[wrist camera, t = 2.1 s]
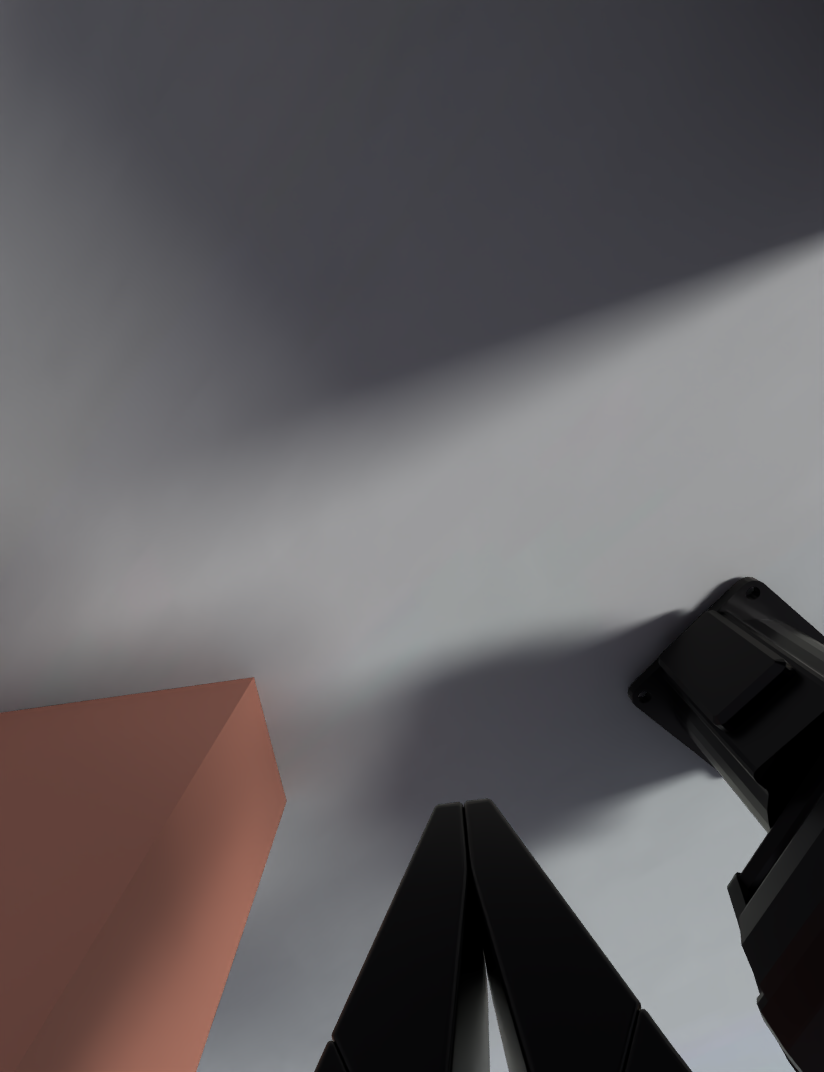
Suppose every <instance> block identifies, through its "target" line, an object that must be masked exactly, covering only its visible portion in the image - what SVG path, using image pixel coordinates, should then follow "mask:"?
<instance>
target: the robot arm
mask: <svg viewBox="0 0 824 1072" xmlns="http://www.w3.org/2000/svg"><path fill="white" fill-rule="evenodd" d="M751 587H753V592H752V593H751V594H750V595H748V596H746V592H747V590H748V589H749V588H751ZM643 691H647V693H646V695H645V696H643V697H638V696H639V694H640V693H641V692H643ZM628 696H629V698H630V699H631V701H632V702H633V703H634V705H635V706H636V707H638V708H639V709H640V710H641V711H643V712H644V713H645V714H646V715H648V716H649V717H650V718H652V719H653V720H654V721H655V722H657V723H658V724H659V725H661V726H662V727H663V728H664V729H666V730H667V731H668V732H669V733H671V734H672V735H673V736H675V737H676V738H677V739H678V740H680V741H681V742H682V743H683V744H685V745H686V746H687V747H689V748H690V749H691V750H692V751H694V752H695V753H696V754H697V755H699V756H700V757H701V758H703V759H704V760H705V761H706V762H708V763H709V764H710V765H711V766H713V767H714V768H715V769H716V770H717V771H718V772H719V773H720V775H721V776H722V777H723V778H724V780H725V781H726V782H727V783H728V785H729V786H730V787H731V788H732V790H733V791H734V792H735V793H736V794H737V796H738V797H739V798H740V799H741V801H742V802H743V803H744V804H745V806H746V807H747V808H748V809H749V811H750V812H751V813H752V814H753V815H754V817H755V818H756V819H757V820H758V822H759V823H760V824H761V825H762V827H763V828H764V829H765V830H766V832H767V833H768V834H767V835H766V837H765V838H764V840H763V841H762V843H761V844H760V846H759V847H758V849H757V850H756V852H755V853H754V855H753V856H752V858H751V859H750V861H749V862H748V864H747V865H746V867H745V868H744V870H743V871H742V873H738V872H737V873H736V874H735V875H734V877H733V878H732V880H731V881H730V883H729V884H728V886H727V889H728V892H729V895H730V899H731V902H732V905H733V908H734V912H735V915H736V918H737V921H738V925H739V928H740V933H741V944H742V947H743V950H744V952H745V954H746V957H747V959H748V961H749V964H750V966H751V968H752V971H753V973H754V977H755V980H756V983H757V986H758V990H759V993H760V995H759V996H758V997H757V1005H758V1008H759V1010H760V1013H761V1015H762V1018H763V1020H764V1022H765V1023H766V1025H767V1026H768V1028H769V1029H770V1031H771V1032H772V1034H773V1035H774V1037H775V1038H776V1040H777V1042H778V1043H779V1045H780V1047H781V1049H782V1050H783V1052H784V1054H785V1056H786V1058H787V1059H788V1061H789V1063H790V1064H791V1065H792V1067H793V1068H794V1070H795V1071H796V1072H824V636H823V635H822V634H821V633H820V632H819V631H817V630H816V629H815V628H814V627H813V626H812V625H811V624H809V623H808V622H807V621H806V620H805V619H804V618H803V617H801V616H800V615H799V614H798V613H797V612H796V611H795V610H793V609H792V608H791V607H790V606H789V605H788V604H787V603H786V602H784V601H783V600H782V599H781V598H780V597H779V596H778V595H776V594H775V593H774V592H773V591H772V590H771V589H770V588H768V587H767V586H766V585H765V584H764V583H762V582H760V581H758V580H757V579H755V578H753V577H745V578H742V579H740V580H739V581H737V582H736V583H735V584H734V585H733V586H732V587H731V588H730V589H729V590H728V591H727V592H726V593H725V594H724V595H723V596H722V597H721V598H720V599H719V600H718V601H717V602H716V603H715V604H714V605H713V606H712V607H711V608H709V609H708V610H707V611H706V612H704V613H703V614H702V615H701V616H700V617H699V618H698V619H697V620H696V621H695V622H694V623H693V624H692V625H691V626H690V627H689V628H688V629H687V630H686V631H684V632H683V633H682V634H681V635H680V636H679V637H678V638H677V639H676V640H675V641H674V642H673V643H672V644H671V645H670V646H669V647H668V648H667V649H666V650H665V651H664V652H663V653H662V654H661V655H660V656H659V658H658V659H657V660H656V661H655V662H654V663H653V664H652V665H651V666H650V667H649V668H648V669H647V670H646V671H645V672H644V673H643V674H642V675H641V676H640V677H638V678H637V679H636V680H635V681H634V682H633V683H632V684H631V686H630V687H629V689H628ZM484 956H485V957H484ZM485 962H486V966H485ZM486 968H487V974H488V980H489V985H490V990H491V995H492V1000H493V1004H494V1009H495V1013H496V1017H497V1022H498V1026H499V1030H500V1035H501V1039H502V1043H503V1048H504V1052H505V1056H506V1060H507V1065H508V1069H509V1072H692V1071H691V1069H690V1068H689V1067H688V1066H687V1064H686V1063H685V1062H684V1060H683V1059H682V1058H681V1056H680V1055H679V1054H678V1053H677V1051H676V1050H675V1049H674V1047H673V1046H672V1045H671V1043H670V1042H669V1041H668V1039H667V1038H666V1037H665V1035H664V1034H663V1033H662V1031H661V1030H660V1028H659V1027H658V1026H657V1024H656V1023H655V1022H654V1020H653V1019H652V1018H651V1016H650V1015H649V1013H648V1012H647V1011H646V1010H645V1009H641V1004H640V1002H639V1000H638V999H637V998H636V996H635V995H634V994H633V992H632V991H631V989H630V988H629V987H628V985H627V984H626V983H625V981H624V980H623V979H622V977H621V976H620V974H619V973H618V972H617V970H616V969H615V968H614V966H613V965H612V964H611V962H610V961H609V959H608V958H607V957H606V955H605V954H604V953H603V951H602V950H601V949H600V947H599V946H598V944H597V943H596V942H595V940H594V939H593V938H592V936H591V935H590V934H589V932H588V931H587V929H586V928H585V927H584V925H583V924H582V923H581V921H580V920H579V919H578V917H577V916H576V914H575V913H574V912H573V910H572V909H571V908H570V906H569V905H568V904H567V902H566V901H565V899H564V898H563V897H562V895H561V894H560V893H559V891H558V890H557V889H556V887H555V886H554V884H553V883H552V882H551V880H550V879H549V878H548V876H547V875H546V874H545V872H544V871H543V869H542V868H541V867H540V865H539V864H538V863H537V861H536V860H535V859H534V857H533V856H532V854H531V853H530V852H529V850H528V849H527V848H526V846H525V845H524V844H523V842H522V841H521V839H520V838H519V837H518V835H517V834H516V833H515V831H514V830H513V829H512V827H511V826H510V824H509V823H508V822H507V820H506V819H505V818H504V816H503V815H502V814H501V812H500V811H499V809H498V808H497V807H496V805H495V804H494V803H493V802H492V801H491V800H490V799H487V798H486V799H478V800H470V801H466V802H465V804H464V807H463V805H462V803H460V802H454V803H446V804H439V805H437V806H436V807H435V808H434V810H433V812H432V814H431V817H430V819H429V821H428V823H427V825H426V828H425V830H424V832H423V834H422V836H421V839H420V841H419V843H418V845H417V847H416V850H415V852H414V854H413V856H412V858H411V861H410V863H409V865H408V867H407V869H406V872H405V874H404V876H403V878H402V880H401V883H400V885H399V887H398V889H397V891H396V894H395V896H394V898H393V900H392V902H391V905H390V907H389V909H388V911H387V913H386V916H385V918H384V920H383V922H382V925H381V927H380V929H379V931H378V933H377V936H376V938H375V940H374V942H373V944H372V947H371V949H370V951H369V953H368V955H367V958H366V960H365V962H364V964H363V966H362V969H361V971H360V973H359V975H358V977H357V980H356V982H355V984H354V986H353V988H352V991H351V993H350V995H349V997H348V999H347V1002H346V1004H345V1006H344V1008H343V1010H342V1013H341V1015H340V1017H339V1019H338V1021H337V1024H336V1026H335V1028H334V1030H333V1032H332V1040H333V1041H329V1042H328V1043H327V1045H326V1047H325V1049H324V1051H323V1054H322V1056H321V1058H320V1060H319V1062H318V1065H317V1067H316V1069H315V1071H314V1072H490V1056H489V1019H488V991H487V976H486Z"/></svg>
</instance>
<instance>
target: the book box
mask: <svg viewBox="0 0 824 1072" xmlns="http://www.w3.org/2000/svg"><path fill="white" fill-rule="evenodd" d="M285 804H286V797H285V794H284V790H283V786H282V782H281V779H280V775H279V771H278V767H277V763H276V760H275V756H274V752H273V748H272V744H271V741H270V737H269V733H268V729H267V725H266V722H265V718H264V714H263V710H262V707H261V703H260V699H259V695H258V691H257V688H256V684H255V680H254V677H252V678H245V679H238V680H231V681H224V682H217V683H209V684H202V685H195V686H188V687H181V688H174V689H167V690H160V691H152V692H145V693H138V694H131V695H124V696H117V697H110V698H103V699H95V700H88V701H81V702H74V703H67V704H60V705H53V706H45V707H38V708H31V709H24V710H17V711H10V712H3V713H0V1072H196V1070H197V1067H198V1064H199V1061H200V1058H201V1055H202V1052H203V1049H204V1046H205V1043H206V1040H207V1037H208V1034H209V1031H210V1028H211V1025H212V1022H213V1019H214V1016H215V1013H216V1010H217V1007H218V1004H219V1002H220V999H221V996H222V993H223V990H224V987H225V984H226V981H227V978H228V975H229V972H230V969H231V966H232V963H233V960H234V957H235V954H236V951H237V948H238V945H239V942H240V939H241V936H242V933H243V930H244V927H245V924H246V921H247V918H248V915H249V912H250V909H251V906H252V903H253V900H254V897H255V894H256V891H257V888H258V885H259V882H260V879H261V876H262V873H263V870H264V867H265V864H266V861H267V858H268V855H269V852H270V849H271V846H272V843H273V840H274V837H275V834H276V831H277V828H278V825H279V822H280V819H281V816H282V813H283V810H284V807H285Z"/></svg>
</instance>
